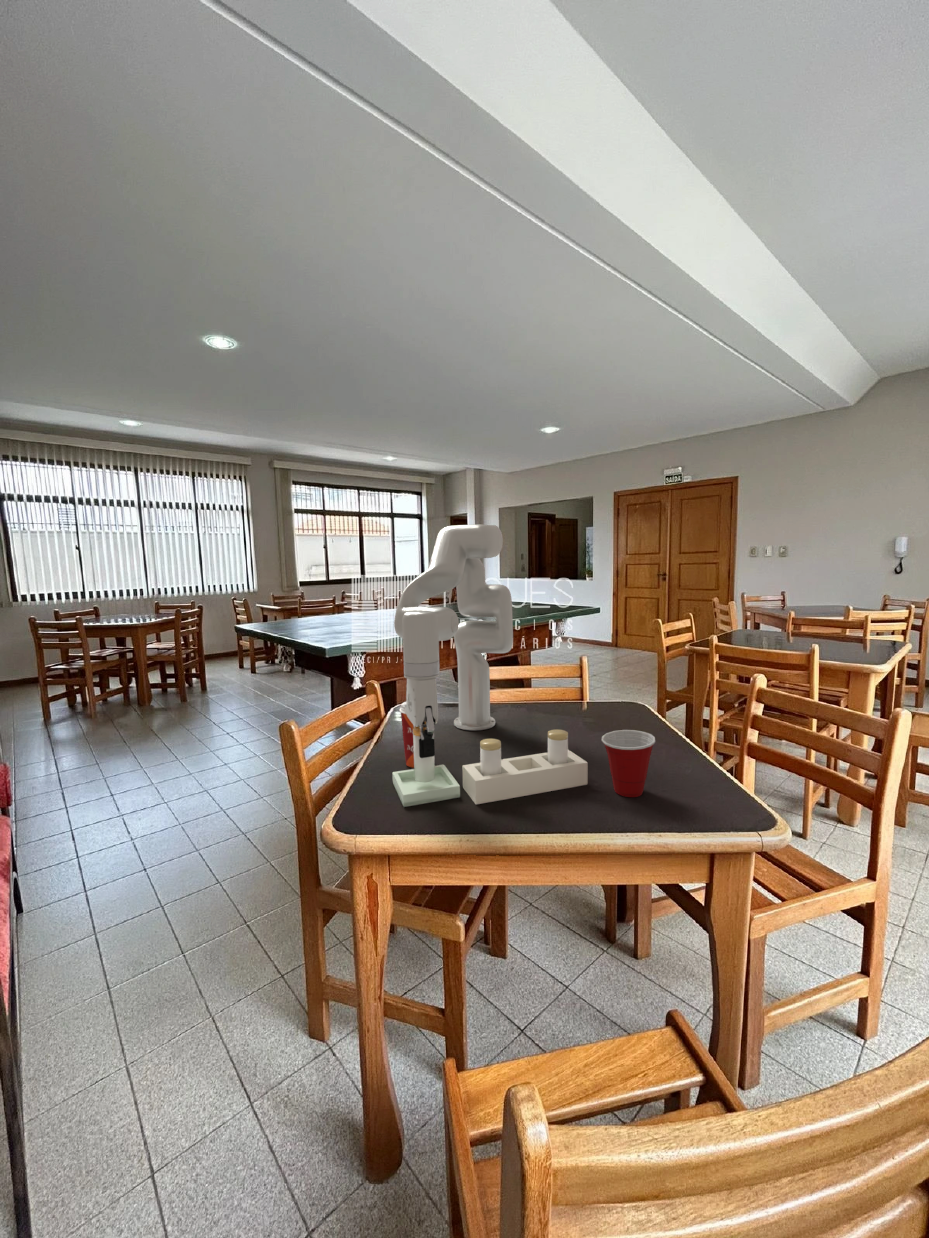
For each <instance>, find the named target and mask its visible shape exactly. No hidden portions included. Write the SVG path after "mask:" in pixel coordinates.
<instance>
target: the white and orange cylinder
mask: <svg viewBox="0 0 929 1238" xmlns="http://www.w3.org/2000/svg"><path fill="white" fill-rule="evenodd" d="M426 728H427V727H424V728H423V731H424V730H425V729H426ZM419 739H420V727H419V726H418V727H414V728H413V744H414V768H413V769H414V776H415V780H416V781H418V782H430V781H432V780H434V779H435V766H436V764H435V761H436V760H435V755H434V756H433V757H426V758H420V756H419Z"/></svg>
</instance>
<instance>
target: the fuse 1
mask: <svg viewBox="0 0 929 1238" xmlns="http://www.w3.org/2000/svg"><path fill="white" fill-rule="evenodd" d="M479 749H480V753H479V756H480V757H479V760H480V761H479V763H480V766H481V775H482V776H483V777H484V776H490V775H496V774H501V759H502V741H501V740H500V739H497V738H483V739H482V740H480V741H479Z"/></svg>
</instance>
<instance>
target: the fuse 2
mask: <svg viewBox="0 0 929 1238" xmlns="http://www.w3.org/2000/svg"><path fill="white" fill-rule="evenodd" d="M568 750H569V732H568V731H566V730H564V729H556V728H555V729H551V730H550V729H549V730H548V731H547V752H548V762H549V763H550V764H552V765H558V764H564V763H568Z"/></svg>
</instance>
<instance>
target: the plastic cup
mask: <svg viewBox="0 0 929 1238" xmlns="http://www.w3.org/2000/svg"><path fill="white" fill-rule="evenodd" d="M601 743H603V745H604V748H605V750H606V753H607V754H606V755H607V760H608V766H609V770H610V776H611V780H612V781H611V782H612V787H613V790H614V792H615V793H616V794H618V795H619V796H621V797H627V798H637V797H641V796H642V795H643V792H644V789H645V784H646V780H647V777H648V776H647V774H648V771H649V770H648V769H649V764H650V759H651V755H652V750H653V747H654V745H655V743H656V737H655V736H654V735H653V734H652V733H649V732H646V731H644V730H643V731H641V730H635V729H622V730H613V731H609V732H606V733H605V734H604V735H602V736H601Z"/></svg>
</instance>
